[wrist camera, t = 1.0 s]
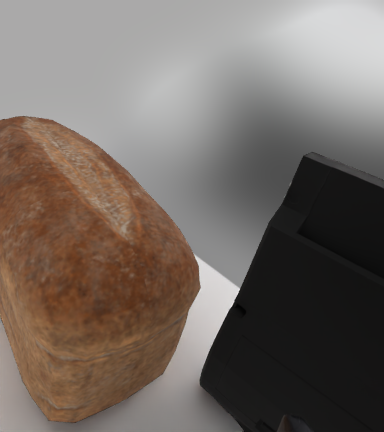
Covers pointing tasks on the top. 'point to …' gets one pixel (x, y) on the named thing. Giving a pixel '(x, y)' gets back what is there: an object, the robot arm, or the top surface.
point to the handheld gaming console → (310, 310)
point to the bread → (85, 271)
